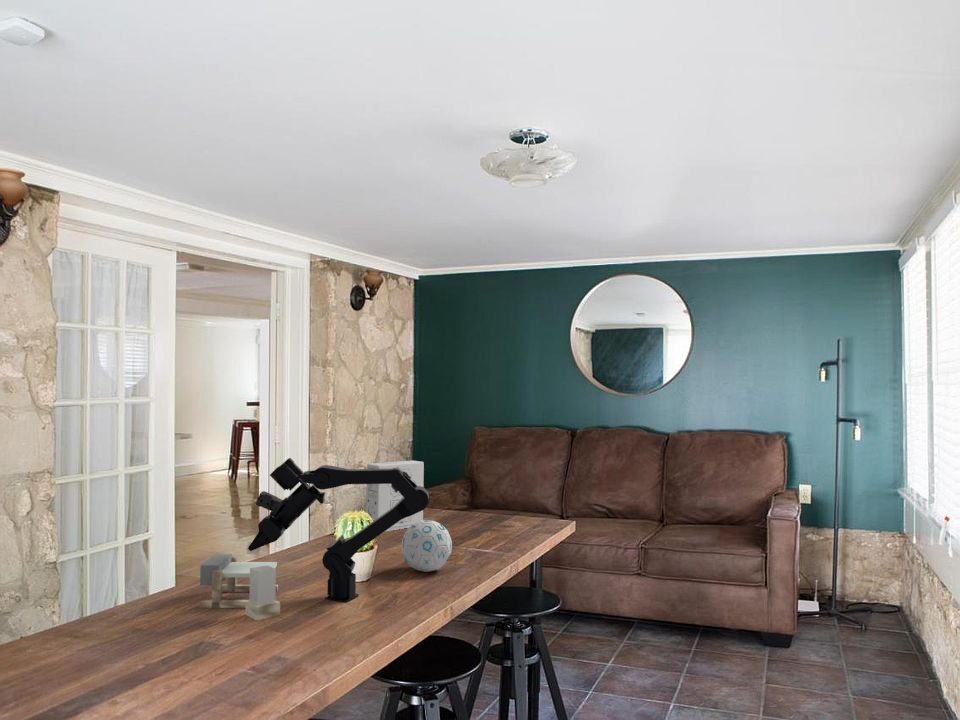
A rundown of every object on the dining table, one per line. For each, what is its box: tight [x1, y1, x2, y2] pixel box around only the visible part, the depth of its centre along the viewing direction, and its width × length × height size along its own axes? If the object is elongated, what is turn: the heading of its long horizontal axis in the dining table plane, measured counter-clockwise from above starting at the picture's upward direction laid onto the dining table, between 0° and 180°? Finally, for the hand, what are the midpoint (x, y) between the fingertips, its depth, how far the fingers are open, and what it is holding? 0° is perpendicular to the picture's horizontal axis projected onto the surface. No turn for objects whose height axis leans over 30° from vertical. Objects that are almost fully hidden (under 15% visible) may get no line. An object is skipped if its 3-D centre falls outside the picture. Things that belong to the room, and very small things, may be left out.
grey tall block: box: [248, 565, 277, 606], centre depth 186 cm, size 4×4×8 cm
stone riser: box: [244, 599, 281, 621], centre depth 186 cm, size 6×6×3 cm
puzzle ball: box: [401, 519, 453, 573], centre depth 231 cm, size 15×15×15 cm
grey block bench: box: [198, 556, 279, 609], centre depth 200 cm, size 16×16×9 cm
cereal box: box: [365, 459, 425, 533], centre depth 296 cm, size 22×8×25 cm, turn 133°
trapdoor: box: [199, 553, 278, 586], centre depth 200 cm, size 16×12×5 cm
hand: (253, 545), depth 200 cm, fingers open, 9 cm apart
